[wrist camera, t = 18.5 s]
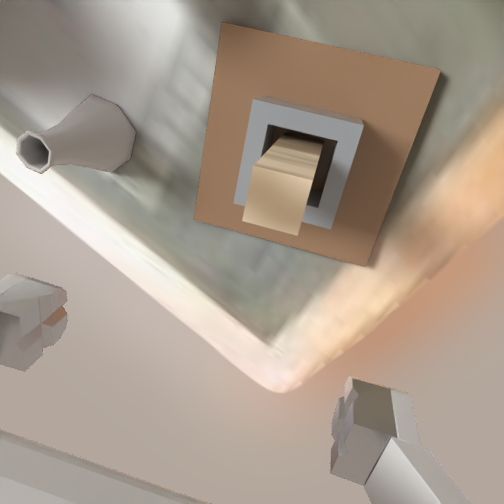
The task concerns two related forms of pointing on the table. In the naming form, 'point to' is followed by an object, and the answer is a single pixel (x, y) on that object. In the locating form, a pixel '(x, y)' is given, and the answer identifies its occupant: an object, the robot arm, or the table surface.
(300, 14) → the table surface
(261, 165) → the wooden block
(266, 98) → the square peg socket base
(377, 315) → the table surface
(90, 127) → the flask
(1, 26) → the table surface
